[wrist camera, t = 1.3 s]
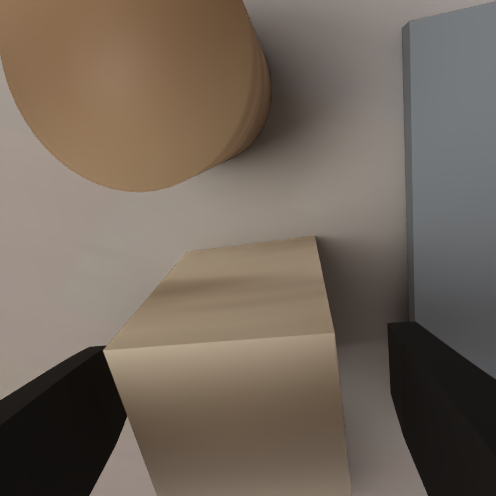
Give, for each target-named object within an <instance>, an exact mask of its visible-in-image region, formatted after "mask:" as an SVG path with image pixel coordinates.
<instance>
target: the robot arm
mask: <svg viewBox="0 0 496 496" xmlns="http://www.w3.org/2000/svg"><path fill="white" fill-rule="evenodd" d="M387 325H388V346H389V367H390V389H391V396H392V399H393V403H394V406H395V410H396V413H397V416H398V420H399V423H400V426H401V430H402V433H403V436H404V439H405V441H406V444H407V446H408V449H409V451H410V453H411V456H412V458H413V461H414V463H415V466H416V468H417V470H418V473H419V475H420V478H421V480H422V482H423V485H424V487H425V489H426V492H427V494H428V496H496V379H495V378H493V377H492V376H490V375H489V374H487V373H486V372H485V371H483V370H482V369H480V368H479V367H477V366H476V365H474V364H473V363H472V362H470V361H469V360H468V359H466V358H465V357H463V356H462V355H461V354H459V353H458V352H456V351H455V350H454V349H452V348H451V347H450V346H448V345H447V344H446V343H444V342H443V341H441V340H440V339H439V338H437V337H436V336H435V335H433V334H432V333H431V332H429V331H428V330H427V329H425V328H424V327H423V326H421V325H420V324H418V323H417V322H416V321H413V322H400V323H387ZM105 347H106V346H94V347H89V348H86V349H84V350H82V351H80V352H79V353H77V354H75V355H73V356H71V357H70V358H68V359H66V360H65V361H63V362H61V363H60V364H58V365H56V366H55V367H53V368H51V369H50V370H48V371H46V372H45V373H43V374H42V375H40V376H38V377H37V378H35V379H34V380H32V381H30V382H29V383H27V384H26V385H24V386H22V387H21V388H19V389H18V390H16V391H14V392H13V393H11V394H10V395H8V396H6V397H5V398H3V399H2V400H0V496H89V495H90V493H91V491H92V490H93V488H94V486H95V484H96V482H97V480H98V478H99V476H100V474H101V473H102V471H103V469H104V467H105V465H106V463H107V461H108V459H109V457H110V455H111V453H112V451H113V449H114V447H115V445H116V443H117V441H118V438H119V436H120V433H121V431H122V429H123V426H124V423H125V421H126V418H127V413H126V411H125V408H124V405H123V403H122V400H121V397H120V395H119V392H118V389H117V387H116V384H115V381H114V379H113V376H112V373H111V371H110V368H109V365H108V363H107V360H106V357H105V355H104V352H103V350H104V349H105Z"/></svg>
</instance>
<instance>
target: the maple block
mask: <svg viewBox="0 0 496 496" xmlns="http://www.w3.org/2000/svg"><path fill="white" fill-rule="evenodd" d="M103 352H104V355H105V357H106V360H107V363H108V365H109V368H110V371H111V373H112V376H113V379H114V381H115V384H116V387H117V389H118V392H119V395H120V397H121V400H122V403H123V405H124V408H125V411H126V413H127V416H128V419H129V421H130V424H131V427H132V429H133V432H134V435H135V437H136V440H137V443H138V445H139V448H140V451H141V454H142V456H143V459H144V462H145V464H146V467H147V470H148V472H149V475H150V478H151V480H152V483H153V486H154V488H155V491H156V494H157V496H352V490H351V481H350V471H349V462H348V453H347V444H346V434H345V425H344V416H343V406H342V397H341V388H340V379H339V369H338V360H337V351H336V341H335V332H334V328H333V323H332V318H331V313H330V308H329V303H328V298H327V293H326V288H325V284H324V279H323V274H322V269H321V264H320V259H319V254H318V249H317V245H316V240H315V236H309V237H302V238H294V239H286V240H278V241H270V242H262V243H255V244H247V245H239V246H231V247H223V248H215V249H208V250H200V251H192V252H187V253H186V254H185V255H184V256H183V257H182V258H181V260H180V261H179V262H178V263H177V264H176V265H175V267H174V268H173V269H172V270H171V271H170V273H169V274H168V275H167V276H166V277H165V278H164V280H163V281H162V282H161V283H160V284H159V285H158V287H157V288H156V289H155V290H154V291H153V292H152V294H151V295H150V296H149V297H148V298H147V299H146V301H145V302H144V303H143V304H142V305H141V306H140V308H139V309H138V310H137V311H136V312H135V313H134V315H133V316H132V317H131V318H130V319H129V320H128V322H127V323H126V324H125V325H124V326H123V328H122V329H121V330H120V331H119V332H118V333H117V335H116V336H115V337H114V338H113V339H112V340H111V342H110V343H109V344H108V345H107V346H106V347H105V349H104V350H103Z"/></svg>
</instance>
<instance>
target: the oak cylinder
mask: <svg viewBox="0 0 496 496" xmlns="http://www.w3.org/2000/svg"><path fill="white" fill-rule="evenodd" d="M0 55H1V60H2V65H3V69H4V73H5V76H6V79H7V82H8V86H9V89H10V91H11V93H12V96H13V98H14V100H15V103H16V105H17V107H18V109H19V111H20V112H21V114H22V116H23V118H24V120H25V121H26V123H27V124H28V126H29V127H30V129H31V130H32V132H33V133H34V135H35V136H36V137H37V138H38V140H39V141H40V142H41V143H42V144H43V145H44V147H45V148H46V149H47V150H48V151H49V152H50V153H51V154H52V155H53V156H54V157H55V158H56V159H58V160H59V161H60V162H61V163H63V164H64V165H65V166H66V167H68V168H69V169H70V170H72V171H74V172H75V173H77V174H78V175H80V176H82V177H83V178H85V179H87V180H90V181H92V182H94V183H96V184H99V185H102V186H105V187H108V188H111V189H116V190H122V191H130V192H146V191H156V190H160V189H164V188H168V187H171V186H174V185H176V184H179V183H181V182H183V181H185V180H188V179H190V178H192V177H194V176H196V175H198V174H200V173H202V172H204V171H206V170H208V169H210V168H212V167H214V166H216V165H218V164H220V163H222V162H224V161H227V160H229V159H231V158H233V157H234V156H236V155H238V154H240V153H241V152H242V151H244V150H245V149H246V148H248V147H249V146H250V145H251V144H252V143H253V141H254V140H255V139H256V138H257V136H258V135H259V133H260V132H261V130H262V128H263V126H264V124H265V122H266V119H267V116H268V113H269V109H270V104H271V93H272V87H271V77H270V72H269V68H268V65H267V62H266V59H265V56H264V54H263V51H262V49H261V46H260V44H259V41H258V39H257V36H256V34H255V31H254V28H253V26H252V23H251V21H250V18H249V16H248V13H247V11H246V8H245V6H244V3H243V1H242V0H0Z"/></svg>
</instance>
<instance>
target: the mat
mask: <svg viewBox="0 0 496 496" xmlns="http://www.w3.org/2000/svg"><path fill="white" fill-rule="evenodd" d="M402 51H403V93H404V134H405V175H406V217H407V258H408V300H409V322H413V321H416V322H417V323H418V324H420V325H421V326H423V327H424V328H425V329H427V330H428V331H429V332H431V333H432V334H433V335H435V336H436V337H437V338H439V339H440V340H441V341H443V342H444V343H446V344H447V345H448V346H450V347H451V348H452V349H454V350H455V351H456V352H458V353H459V354H461V355H462V356H463V357H465V358H466V359H468V360H469V361H470V362H472V363H473V364H474V365H476V366H477V367H479V368H480V369H482V370H483V371H485V372H486V373H487V374H489V375H490V376H492V377H493V378H495V379H496V2H491V3H487V4H483V5H478V6H474V7H470V8H465V9H461V10H456V11H452V12H448V13H443V14H439V15H435V16H430V17H426V18H422V19H417V20H413V21H409V22H408V23H407V24H406V25H405V26H404V27H403V28H402Z"/></svg>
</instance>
